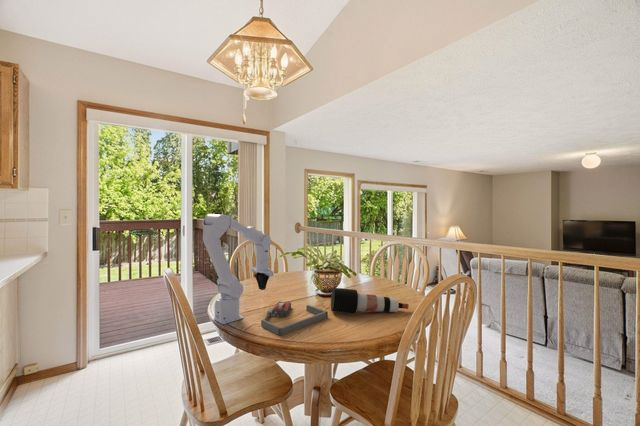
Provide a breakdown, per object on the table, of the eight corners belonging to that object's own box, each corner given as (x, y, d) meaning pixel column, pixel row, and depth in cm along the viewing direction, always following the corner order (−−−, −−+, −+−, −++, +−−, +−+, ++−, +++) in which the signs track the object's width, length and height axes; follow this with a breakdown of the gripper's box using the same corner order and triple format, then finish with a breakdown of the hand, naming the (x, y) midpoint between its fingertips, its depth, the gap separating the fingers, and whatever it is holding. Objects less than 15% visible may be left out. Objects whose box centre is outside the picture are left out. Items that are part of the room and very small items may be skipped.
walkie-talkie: (273, 306, 138) (262, 324, 118) (273, 297, 138) (262, 313, 118) (291, 307, 138) (284, 324, 118) (292, 298, 137) (284, 313, 117)
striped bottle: (407, 323, 130) (414, 306, 125) (331, 316, 128) (335, 299, 123) (401, 305, 139) (407, 289, 134) (330, 299, 137) (333, 282, 132)
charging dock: (280, 336, 106) (280, 329, 106) (261, 326, 115) (261, 319, 115) (327, 317, 124) (327, 311, 124) (308, 310, 133) (308, 304, 133)
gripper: (279, 260, 133) (278, 290, 134) (260, 256, 143) (260, 284, 144) (266, 262, 128) (265, 294, 129) (247, 258, 138) (247, 287, 139)
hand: (262, 289), depth 136 cm, fingers closed
